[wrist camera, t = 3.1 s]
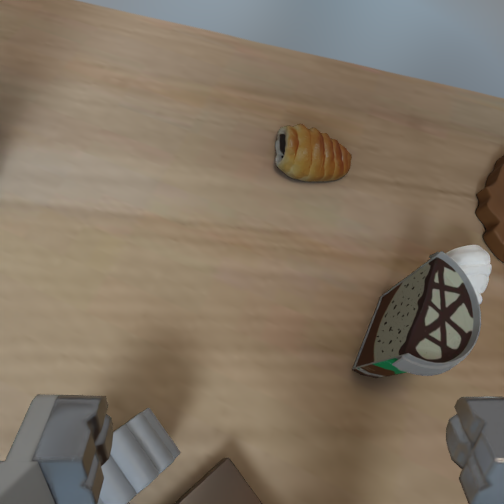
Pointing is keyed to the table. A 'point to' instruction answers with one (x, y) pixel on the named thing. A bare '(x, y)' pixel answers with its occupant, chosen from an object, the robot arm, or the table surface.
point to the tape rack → (221, 487)
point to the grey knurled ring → (136, 458)
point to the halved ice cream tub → (422, 323)
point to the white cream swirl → (473, 266)
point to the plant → (493, 210)
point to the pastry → (310, 154)
